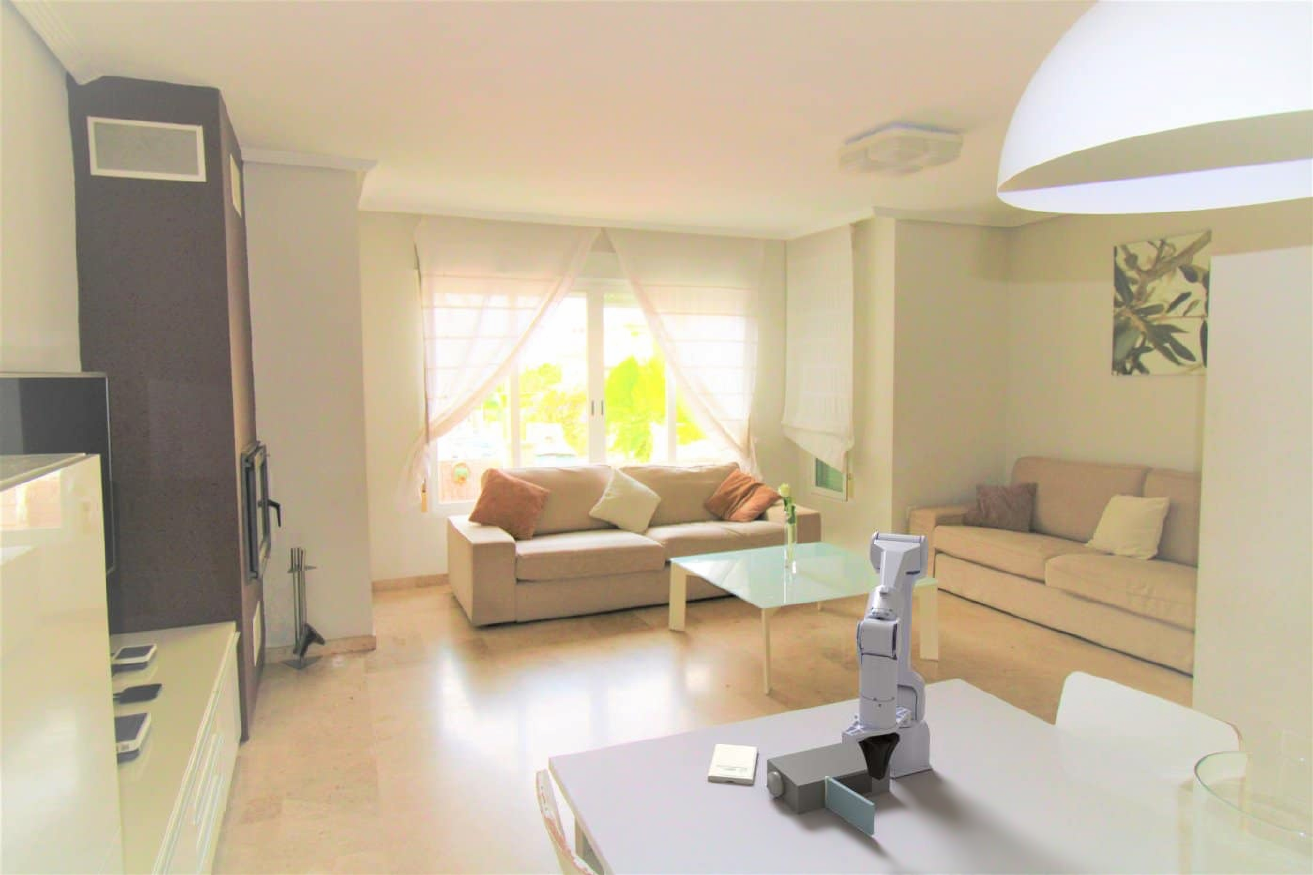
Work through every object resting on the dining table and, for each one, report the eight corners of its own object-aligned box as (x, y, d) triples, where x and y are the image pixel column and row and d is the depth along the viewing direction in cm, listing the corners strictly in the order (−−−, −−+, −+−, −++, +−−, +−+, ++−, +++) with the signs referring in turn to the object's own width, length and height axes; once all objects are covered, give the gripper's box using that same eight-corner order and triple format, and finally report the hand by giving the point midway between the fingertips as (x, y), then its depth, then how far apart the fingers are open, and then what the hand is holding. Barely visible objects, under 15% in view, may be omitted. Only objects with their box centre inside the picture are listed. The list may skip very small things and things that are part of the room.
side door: (874, 833, 126) (875, 803, 126) (870, 835, 126) (870, 805, 125) (827, 803, 135) (827, 775, 135) (823, 805, 135) (823, 777, 134)
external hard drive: (757, 754, 155) (752, 787, 143) (715, 751, 156) (707, 783, 144) (757, 746, 155) (752, 778, 143) (715, 743, 156) (707, 774, 144)
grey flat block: (854, 765, 149) (855, 739, 149) (890, 791, 140) (890, 764, 140) (761, 787, 141) (761, 760, 141) (792, 816, 132) (792, 787, 132)
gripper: (886, 675, 133) (885, 753, 134) (827, 696, 124) (826, 780, 126) (922, 689, 127) (920, 770, 128) (863, 712, 119) (861, 799, 120)
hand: (876, 776), depth 127 cm, fingers closed
